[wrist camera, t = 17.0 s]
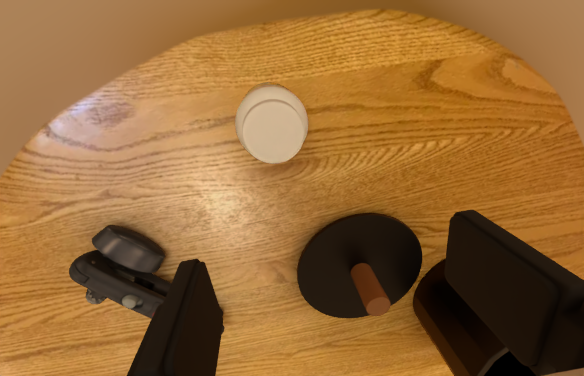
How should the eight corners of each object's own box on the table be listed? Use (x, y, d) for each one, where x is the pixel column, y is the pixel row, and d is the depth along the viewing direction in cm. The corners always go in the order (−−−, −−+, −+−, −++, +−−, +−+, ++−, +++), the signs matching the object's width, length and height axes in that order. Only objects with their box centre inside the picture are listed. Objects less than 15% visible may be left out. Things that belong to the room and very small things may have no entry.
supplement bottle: (252, 72, 24) (247, 72, 16) (306, 96, 26) (329, 108, 17) (233, 128, 26) (219, 157, 17) (285, 148, 27) (296, 184, 19)
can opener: (78, 251, 29) (40, 289, 24) (119, 211, 28) (87, 242, 23) (204, 329, 36) (194, 372, 31) (242, 300, 35) (238, 340, 29)
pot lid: (421, 200, 32) (459, 231, 25) (413, 300, 38) (443, 344, 32) (288, 222, 31) (295, 259, 25) (303, 320, 37) (312, 369, 31)
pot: (523, 240, 36) (633, 310, 25) (503, 319, 41) (585, 403, 31) (416, 258, 35) (483, 339, 24) (410, 336, 41) (462, 428, 30)
